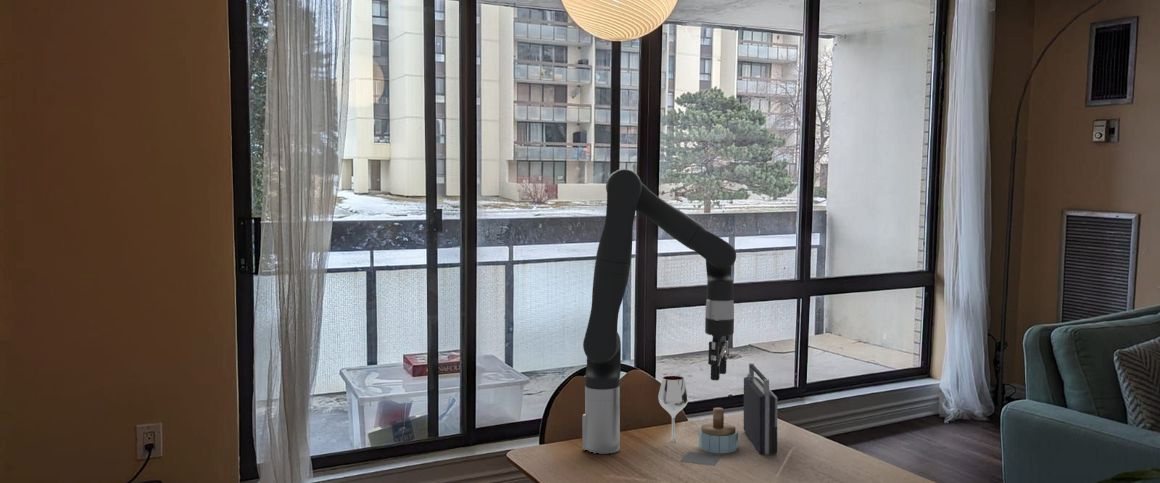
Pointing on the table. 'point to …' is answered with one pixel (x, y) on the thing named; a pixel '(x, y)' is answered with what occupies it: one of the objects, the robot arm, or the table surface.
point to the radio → (760, 412)
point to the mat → (701, 458)
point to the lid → (718, 425)
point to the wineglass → (673, 397)
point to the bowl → (718, 442)
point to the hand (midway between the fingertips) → (718, 376)
